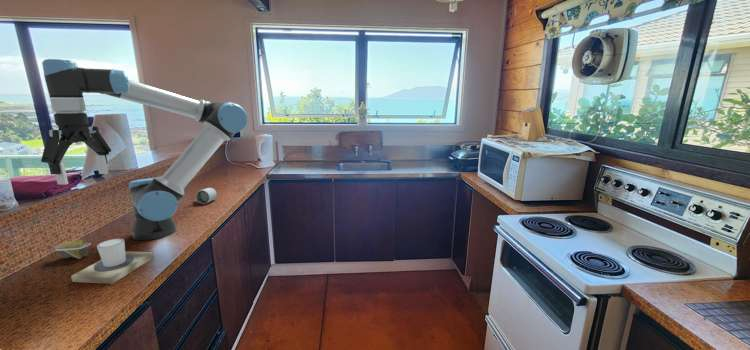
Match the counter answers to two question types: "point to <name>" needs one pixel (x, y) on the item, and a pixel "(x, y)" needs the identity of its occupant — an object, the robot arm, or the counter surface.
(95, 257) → the counter surface
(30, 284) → the counter surface
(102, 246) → the shot glass
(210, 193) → the ceramic mug
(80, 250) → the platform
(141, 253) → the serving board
